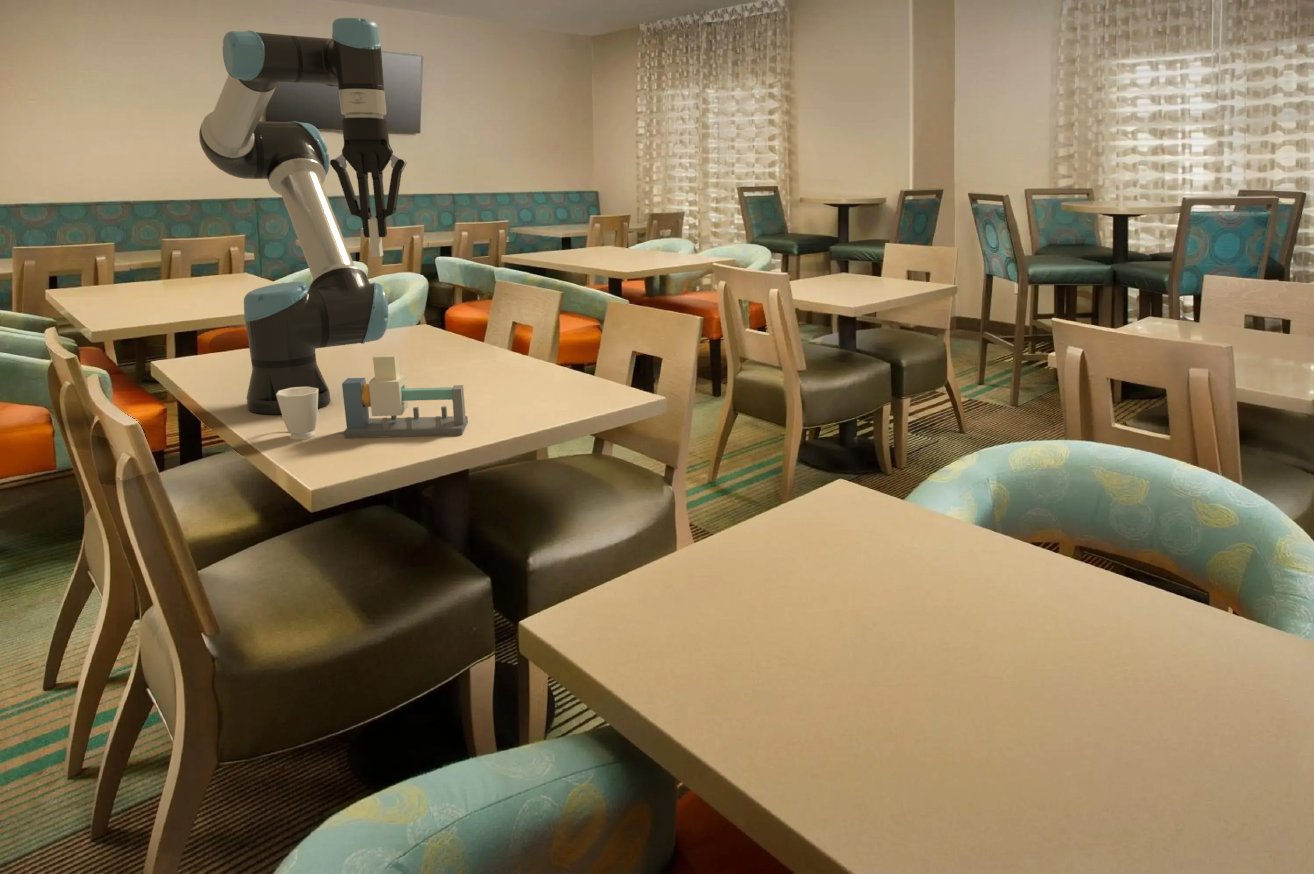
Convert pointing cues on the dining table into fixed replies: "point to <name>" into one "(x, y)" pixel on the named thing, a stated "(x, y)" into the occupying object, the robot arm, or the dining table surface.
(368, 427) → the sliding block rail
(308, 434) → the cup
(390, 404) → the sleeve
